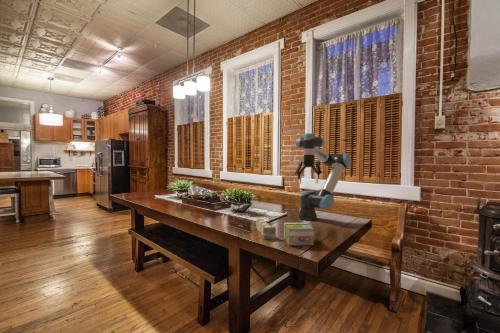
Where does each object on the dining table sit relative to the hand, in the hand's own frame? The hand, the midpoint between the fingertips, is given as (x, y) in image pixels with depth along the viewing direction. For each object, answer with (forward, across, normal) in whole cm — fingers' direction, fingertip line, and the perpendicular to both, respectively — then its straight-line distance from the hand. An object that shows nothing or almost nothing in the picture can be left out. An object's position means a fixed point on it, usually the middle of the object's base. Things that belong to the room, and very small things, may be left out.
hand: (308, 183), depth 184 cm
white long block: (+32, -37, -9) cm, 50 cm away
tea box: (+27, -21, -23) cm, 41 cm away
